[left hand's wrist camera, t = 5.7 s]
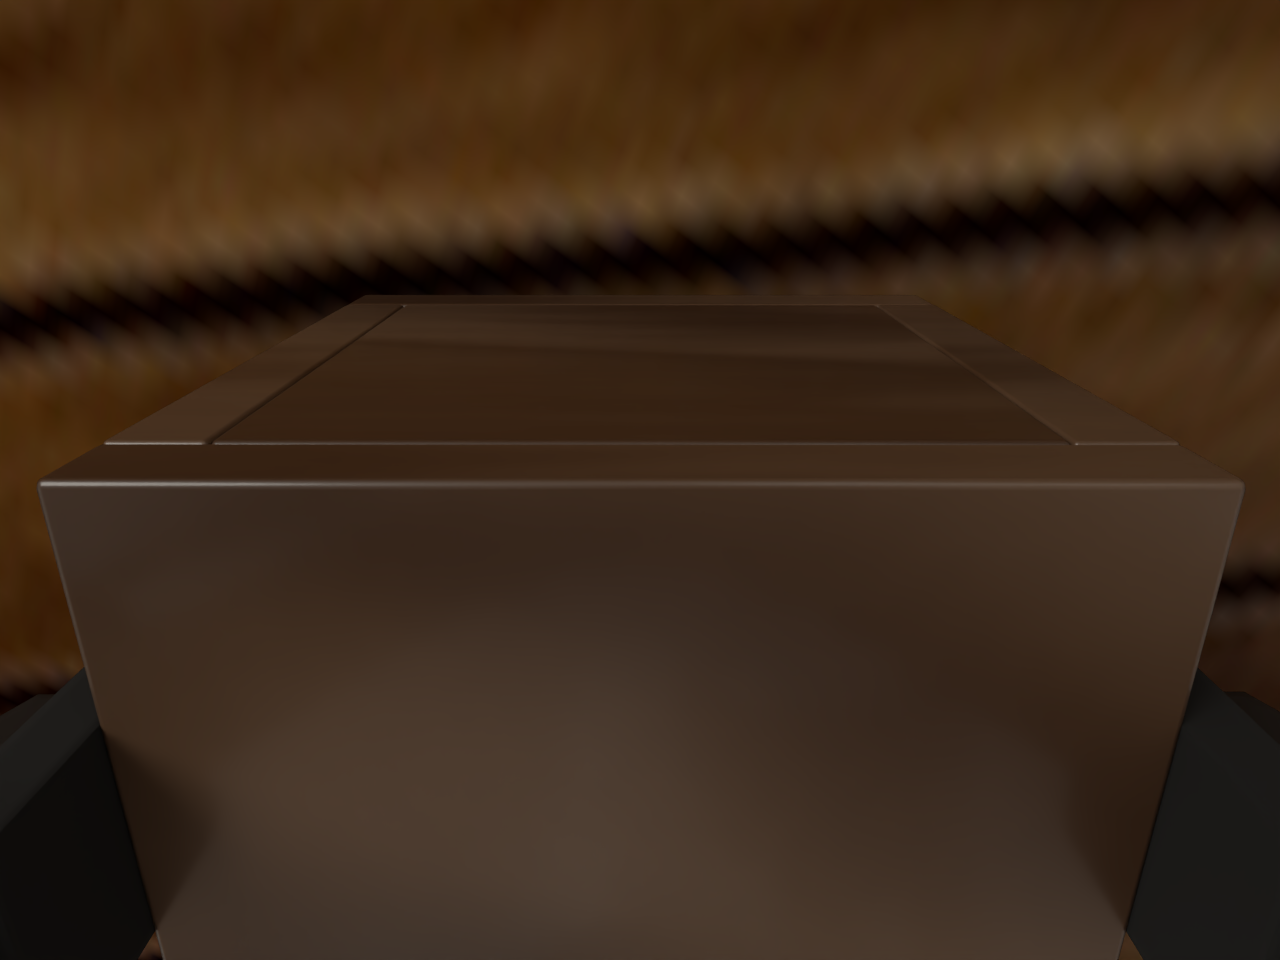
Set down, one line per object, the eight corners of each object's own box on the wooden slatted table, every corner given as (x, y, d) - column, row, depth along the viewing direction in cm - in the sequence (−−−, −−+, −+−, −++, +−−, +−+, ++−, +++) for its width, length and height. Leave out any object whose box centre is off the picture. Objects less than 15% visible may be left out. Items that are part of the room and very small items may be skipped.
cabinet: (840, 973, 23) (970, 1516, 14) (440, 972, 23) (309, 1514, 14) (918, 294, 17) (1253, 481, 8) (363, 294, 17) (29, 480, 8)
